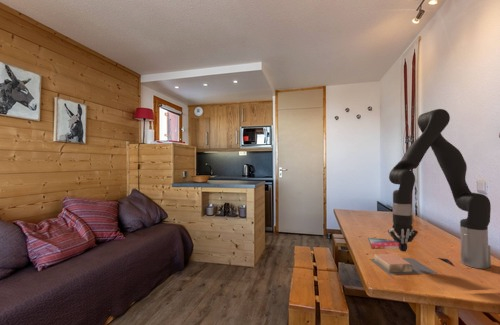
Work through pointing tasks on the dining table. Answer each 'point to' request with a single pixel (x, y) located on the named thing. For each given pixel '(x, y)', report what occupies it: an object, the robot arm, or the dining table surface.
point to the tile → (392, 263)
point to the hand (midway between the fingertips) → (402, 250)
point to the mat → (416, 267)
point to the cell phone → (446, 261)
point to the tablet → (383, 243)
